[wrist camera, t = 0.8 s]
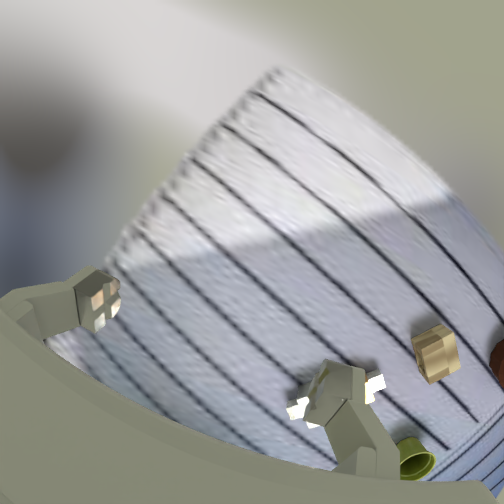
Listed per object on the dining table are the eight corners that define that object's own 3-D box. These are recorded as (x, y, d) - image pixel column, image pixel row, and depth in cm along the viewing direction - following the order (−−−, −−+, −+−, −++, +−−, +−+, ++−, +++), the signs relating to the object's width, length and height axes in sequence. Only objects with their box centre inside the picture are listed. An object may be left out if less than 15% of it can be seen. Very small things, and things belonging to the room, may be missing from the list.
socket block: (448, 356, 49) (460, 368, 43) (419, 371, 51) (429, 384, 44) (440, 323, 50) (453, 332, 43) (410, 338, 51) (421, 349, 45)
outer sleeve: (347, 400, 54) (349, 415, 48) (310, 413, 55) (309, 428, 49) (336, 372, 54) (338, 385, 48) (298, 385, 56) (296, 399, 50)
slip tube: (382, 381, 52) (388, 394, 46) (294, 412, 55) (291, 428, 50) (376, 363, 52) (382, 375, 46) (286, 396, 56) (283, 410, 50)
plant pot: (400, 428, 51) (409, 450, 43) (432, 433, 50) (443, 454, 41) (380, 458, 52) (386, 481, 44) (412, 462, 51) (420, 484, 42)
